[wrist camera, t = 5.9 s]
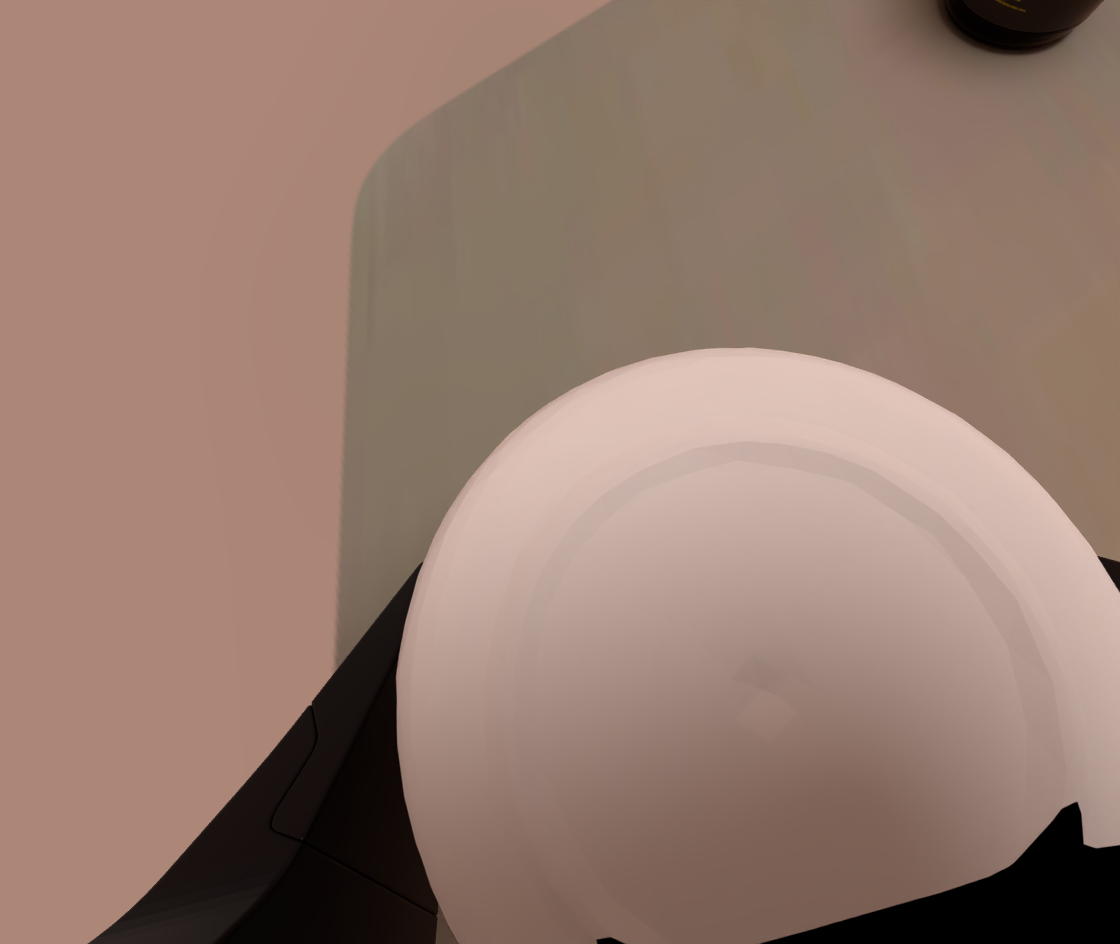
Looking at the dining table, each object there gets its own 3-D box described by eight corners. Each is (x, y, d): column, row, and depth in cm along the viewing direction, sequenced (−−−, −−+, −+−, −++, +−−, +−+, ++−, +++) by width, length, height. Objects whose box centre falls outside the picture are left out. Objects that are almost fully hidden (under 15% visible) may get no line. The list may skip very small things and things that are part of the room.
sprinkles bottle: (651, 504, 16) (1011, 255, 3) (682, 624, 15) (1482, 1173, 2) (538, 528, 16) (331, 399, 3) (561, 648, 15) (419, 1380, 2)
